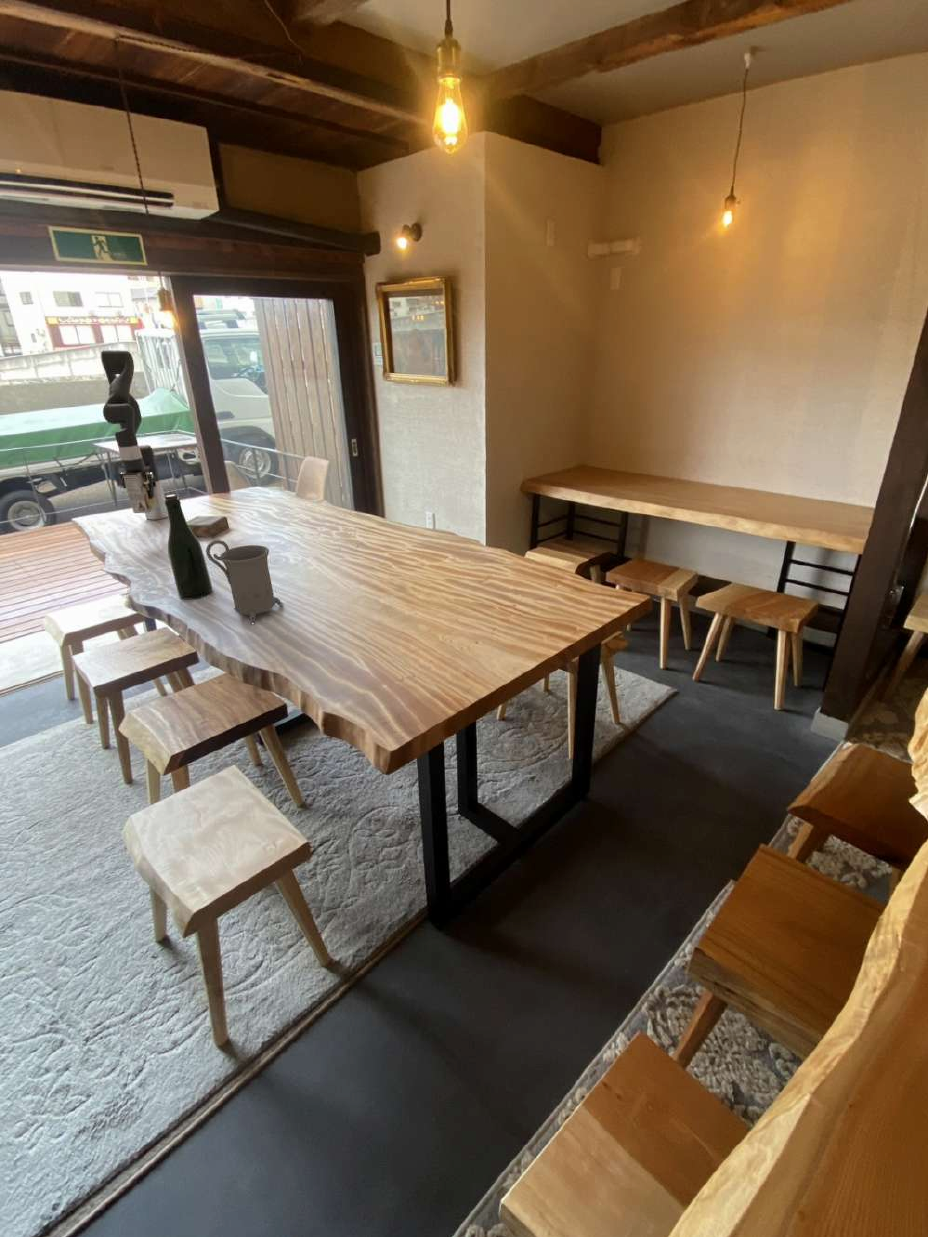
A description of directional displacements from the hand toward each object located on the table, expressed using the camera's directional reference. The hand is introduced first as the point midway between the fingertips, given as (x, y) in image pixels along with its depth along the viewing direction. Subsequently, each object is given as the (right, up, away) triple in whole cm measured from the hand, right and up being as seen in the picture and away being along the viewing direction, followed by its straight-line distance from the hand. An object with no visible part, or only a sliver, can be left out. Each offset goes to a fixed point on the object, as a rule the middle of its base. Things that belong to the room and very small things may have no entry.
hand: (143, 498), depth 242 cm
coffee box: (0, -4, +2) cm, 5 cm away
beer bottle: (+42, -41, -46) cm, 75 cm away
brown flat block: (+19, -12, +15) cm, 27 cm away
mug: (+67, -48, -62) cm, 103 cm away
